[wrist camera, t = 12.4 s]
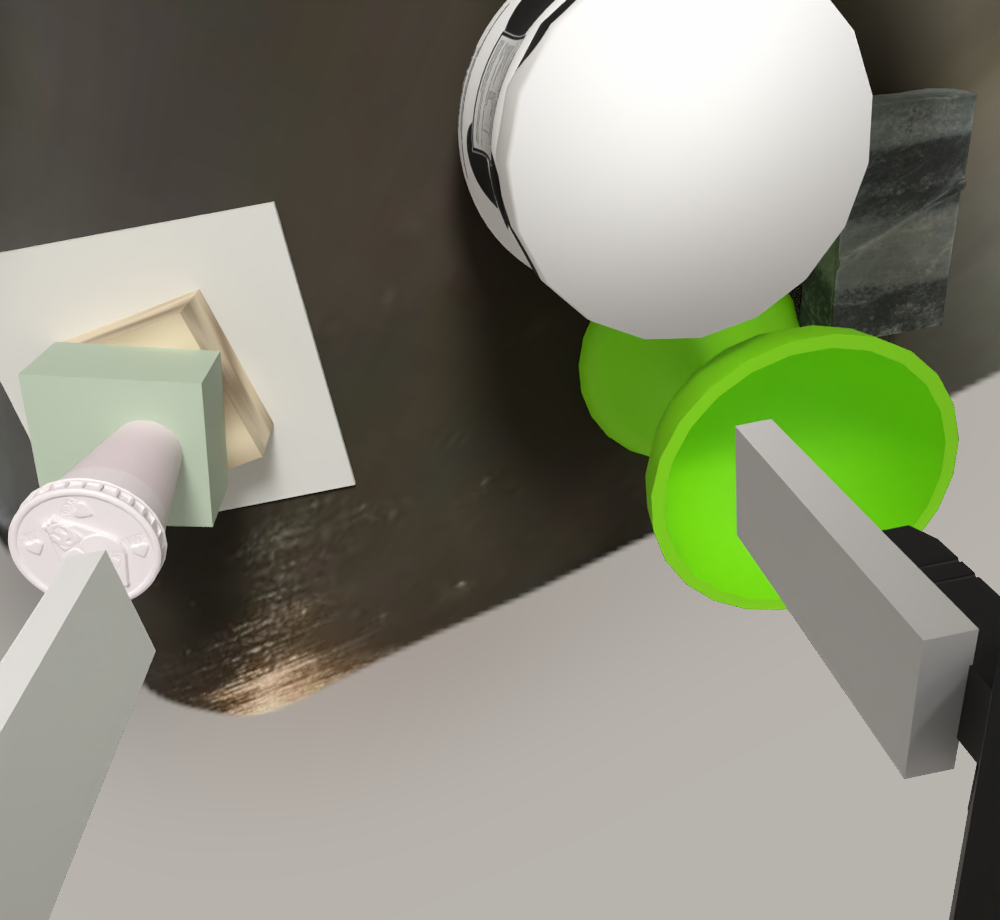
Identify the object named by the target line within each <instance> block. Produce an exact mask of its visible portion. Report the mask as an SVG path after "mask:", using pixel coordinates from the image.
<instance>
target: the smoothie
mask: <svg viewBox="0 0 1000 920" xmlns="http://www.w3.org/2000/svg"><path fill="white" fill-rule="evenodd" d="M181 462H182V447H181V444H180V442H179V440H178V439H177V437H176V436H175V435H174V434H173V433H172V432H171V431H170V430H169V429H167V428H166V427H164V426H163V425H161V424H158V423H156V422H152V421H146V420H138V421H132V422H129V423H126V424H124V425H123V426H121V427H120V428H119V429H118V430H116V431H115V432H114V433H113V434H112V435H111V436H109V437H108V438H107V439H106V440H105V441H104V442H102V443H101V444H100V445H99V446H98V447H97V448H95V449H94V450H93V451H92V452H91V453H89V454H88V455H87V456H86V457H85V458H84V459H82V460H81V461H80V462H79V463H78V464H77V465H75V466H74V467H73V468H72V469H71V470H70V471H68V472H67V473H66V474H65V475H64V476H62V477H61V478H60V479H59V480H57V481H54V482H50V483H47V484H45V485H44V486H42V487H40V488H38V489H37V490H35V491H33V492H32V493H31V494H30V495H29V496H28V497H27V498H26V499H25V500H24V502H23V503H22V504H21V506H20V508H19V510H18V512H17V513H16V514H15V516H14V518H13V520H12V522H11V524H10V528H9V533H8V544H9V549H10V553H11V556H12V558H13V560H14V563H15V564H16V566H17V568H18V569H19V570H20V572H21V573H22V574H23V575H24V576H25V577H26V579H27V580H28V581H30V582H31V583H32V584H33V585H34V586H36V587H37V588H38V589H40V590H42V591H43V592H44V593H45V592H46V591H47V589H48V588H49V586H50V585H51V583H52V581H53V580H54V578H55V577H56V575H57V574H58V572H59V571H60V569H61V567H62V566H63V564H64V563H65V561H66V560H67V558H68V557H70V556H75V555H80V554H85V553H90V552H95V551H101V550H106V551H107V553H108V555H109V557H110V559H111V561H112V563H113V565H114V567H115V569H116V571H117V573H118V575H119V577H120V579H121V581H122V583H123V585H124V587H125V589H126V591H127V593H128V596H129V598H130V600H131V599H133V598H135V597H137V596H138V595H140V594H141V593H143V592H144V591H145V590H146V589H147V588H148V587H149V586H150V585H151V584H152V583H153V581H154V580H155V578H156V576H157V574H158V573H159V571H160V569H161V567H162V565H163V563H164V561H165V559H166V551H167V540H166V535H165V530H166V525H167V521H168V516H169V512H170V508H171V504H172V500H173V495H174V491H175V487H176V483H177V478H178V474H179V470H180V466H181Z"/></svg>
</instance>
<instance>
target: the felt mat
mask: <svg viewBox="0 0 1000 920" xmlns="http://www.w3.org/2000/svg"><path fill="white" fill-rule="evenodd" d="M198 289H200V291H201V292H202V294H203V296H204V298H205V300H206V302H207V303H208V305H209V307H210V309H211V311H212V312H213V314H214V316H215V318H216V320H217V321H218V323H219V325H220V327H221V329H222V331H223V332H224V334H225V336H226V338H227V340H228V341H229V343H230V345H231V347H232V349H233V350H234V352H235V354H236V356H237V358H238V360H239V361H240V363H241V365H242V367H243V369H244V370H245V372H246V374H247V376H248V378H249V380H250V381H251V383H252V385H253V387H254V389H255V390H256V392H257V394H258V396H259V398H260V399H261V401H262V403H263V405H264V407H265V409H266V410H267V412H268V414H269V416H270V418H271V419H272V421H273V426H272V429H271V432H270V435H269V438H268V442H267V445H266V448H265V451H264V454H263V457H261V458H258V459H255V460H253V461H250V462H247V463H245V464H242V465H239V466H236V467H234V468H231V469H228V478H229V486H228V488H227V491H226V493H225V496H224V499H223V501H222V504H221V506H220V509H219V511H224V510H229V509H234V508H239V507H244V506H249V505H254V504H259V503H264V502H270V501H275V500H280V499H285V498H290V497H295V496H300V495H305V494H310V493H316V492H321V491H326V490H331V489H336V488H341V487H346V486H351V485H355V478H354V475H353V471H352V468H351V465H350V461H349V458H348V454H347V451H346V447H345V444H344V440H343V437H342V433H341V430H340V426H339V423H338V420H337V416H336V413H335V409H334V406H333V402H332V399H331V395H330V392H329V388H328V385H327V381H326V378H325V375H324V371H323V368H322V364H321V361H320V357H319V354H318V350H317V347H316V343H315V340H314V336H313V333H312V330H311V326H310V323H309V319H308V316H307V312H306V309H305V305H304V302H303V298H302V295H301V291H300V288H299V285H298V281H297V278H296V274H295V271H294V267H293V264H292V260H291V257H290V253H289V250H288V246H287V243H286V240H285V236H284V233H283V229H282V226H281V222H280V219H279V215H278V212H277V208H276V205H275V201H274V202H269V203H264V204H258V205H253V206H247V207H242V208H237V209H231V210H226V211H221V212H215V213H210V214H204V215H199V216H194V217H188V218H183V219H178V220H172V221H167V222H161V223H156V224H151V225H145V226H140V227H135V228H129V229H124V230H119V231H113V232H108V233H102V234H97V235H92V236H86V237H81V238H76V239H70V240H65V241H59V242H54V243H49V244H43V245H38V246H33V247H27V248H22V249H16V250H11V251H6V252H0V381H1V383H2V385H3V387H4V389H5V391H6V393H7V395H8V397H9V399H10V401H11V403H12V405H13V407H14V409H15V411H16V413H17V414H18V416H19V418H20V420H21V422H22V424H23V426H24V428H25V430H26V432H27V434H28V436H29V438H30V434H29V429H28V423H27V418H26V413H25V408H24V403H23V397H22V392H21V387H20V382H19V377H18V374H19V373H20V372H21V371H22V370H24V369H25V368H26V367H27V366H28V365H29V364H30V363H32V362H33V361H34V360H35V359H36V358H37V357H39V356H40V355H41V354H42V353H43V352H44V351H45V350H47V349H48V348H49V347H50V346H51V345H52V344H53V343H55V342H62V341H65V340H68V339H70V338H73V337H75V336H78V335H81V334H83V333H86V332H88V331H91V330H94V329H96V328H99V327H102V326H104V325H107V324H109V323H112V322H115V321H117V320H120V319H122V318H125V317H128V316H130V315H133V314H135V313H138V312H141V311H143V310H146V309H148V308H151V307H154V306H156V305H159V304H161V303H164V302H167V301H169V300H172V299H174V298H177V297H180V296H182V295H185V294H187V293H190V292H193V291H195V290H198ZM30 440H31V439H30Z"/></svg>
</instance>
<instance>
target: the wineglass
mask: <svg viewBox="0 0 1000 920" xmlns="http://www.w3.org/2000/svg"><path fill="white" fill-rule="evenodd" d="M579 375H580V384H581V393H582V395H583V398H584V400H585V402H586V405H587V407H588V410H589V412H590V414H591V417H592V418H593V419H594V420H595V421H596V423H597V424H598V425H599V426H600V427H601V429H602V430H603V431H604V432H605V434H606V435H607V436H608V437H610V438H611V439H613V440H615V441H616V442H618V443H619V444H621V445H622V446H624V447H625V448H627V449H628V450H630V451H633V452H636V453H639V454H643V455H646V456H649V461H648V465H647V470H646V474H645V480H646V496H647V509H648V512H649V516H650V520H651V523H652V527H653V531H654V533H655V536H656V538H657V540H658V543H659V545H660V548H661V550H662V553H663V555H664V558H665V560H666V561H667V562H668V564H669V565H670V566H671V567H672V568H673V570H674V571H675V572H676V573H677V574H678V575H679V576H680V578H681V579H682V580H683V581H684V582H685V583H686V584H687V585H689V586H691V587H692V588H694V589H695V590H697V591H699V592H700V593H702V594H704V595H705V596H707V597H709V598H710V599H712V600H714V601H718V602H722V603H726V604H729V605H733V606H736V607H740V608H744V609H772V610H773V609H775V610H782V609H786V608H787V607H786V606H785V604H784V603H783V601H782V600H781V598H780V597H779V596H778V594H777V593H776V591H775V590H774V588H773V587H772V585H771V584H770V582H769V581H768V580H767V578H766V577H765V575H764V574H763V572H762V571H761V569H760V568H759V566H758V565H757V564H756V562H755V561H754V559H753V558H752V556H751V555H750V553H749V552H748V550H747V549H746V547H745V546H744V545H743V543H742V542H741V540H740V539H739V537H738V536H737V517H736V447H735V426H738V425H743V424H748V423H753V422H758V421H763V420H768V419H772V420H773V421H774V422H775V423H776V424H777V425H778V426H779V427H780V428H781V429H782V430H783V431H784V432H785V433H786V434H787V436H788V437H789V438H790V439H791V440H792V441H793V442H794V443H795V444H796V445H797V446H798V447H799V448H800V449H801V450H802V451H803V452H804V453H805V454H806V455H807V456H808V457H809V458H810V459H811V460H812V461H813V462H814V463H815V464H816V465H817V466H818V467H819V468H820V469H821V470H822V471H823V472H824V473H825V474H826V475H827V476H828V477H829V478H830V479H831V480H832V481H833V482H834V483H835V484H836V485H837V486H838V487H839V488H840V489H841V490H842V491H843V492H844V493H845V494H846V495H847V496H848V497H849V498H850V499H851V500H852V501H853V502H854V503H855V504H856V505H857V506H858V507H859V508H860V509H861V510H862V511H863V512H864V513H865V514H866V515H867V516H868V517H869V518H870V519H871V520H872V521H873V522H874V523H875V524H876V525H877V526H878V527H879V529H880V530H881V531H882V530H887V529H892V528H897V527H902V526H907V525H910V526H912V527H914V528H916V529H918V530H920V531H923V529H924V528H925V526H926V525H927V524H928V522H929V521H930V520H931V518H932V517H933V515H934V514H935V512H936V511H937V510H938V508H939V506H940V504H941V501H942V499H943V497H944V494H945V492H946V490H947V488H948V485H949V483H950V481H951V478H952V476H953V473H954V466H955V460H956V453H957V447H958V441H959V436H958V429H957V423H956V416H955V410H954V404H953V402H952V400H951V398H950V396H949V394H948V393H947V391H946V389H945V387H944V385H943V383H942V381H941V379H940V378H939V376H938V374H937V373H936V372H934V371H933V370H932V369H931V368H930V367H929V366H928V365H926V364H925V363H924V362H923V361H922V360H921V359H920V358H919V357H917V356H916V355H915V354H914V353H913V352H912V351H909V350H907V349H904V348H902V347H899V346H897V345H894V344H892V343H889V342H887V341H884V340H882V339H879V338H877V337H874V336H871V335H868V334H866V333H863V332H860V331H857V330H854V329H851V328H840V327H827V326H815V325H811V326H805V327H799V323H798V319H797V315H796V310H795V306H794V302H793V299H792V298H791V296H790V294H789V293H787V294H786V295H785V296H784V297H782V298H781V299H780V300H778V301H777V302H776V303H774V304H773V305H772V306H771V307H769V308H768V309H767V310H765V311H764V312H763V313H761V314H760V315H759V316H757V317H756V318H753V319H750V320H748V321H745V322H742V323H740V324H737V325H734V326H732V327H729V328H726V329H723V330H721V331H718V332H715V333H713V334H710V335H707V336H705V337H702V338H675V339H643V338H640V337H637V336H634V335H631V334H628V333H625V332H622V331H619V330H616V329H613V328H610V327H607V326H604V325H601V324H598V323H595V322H593V321H590V323H589V326H588V328H587V330H586V332H585V335H584V337H583V342H582V348H581V354H580V360H579Z"/></svg>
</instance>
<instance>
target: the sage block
mask: <svg viewBox="0 0 1000 920" xmlns="http://www.w3.org/2000/svg"><path fill="white" fill-rule="evenodd" d="M18 377H19V382H20V387H21V392H22V397H23V403H24V408H25V413H26V418H27V423H28V429H29V434H30V439H31V444H32V450H33V455H34V460H35V465H36V470H37V476H38V481H39V486H40V487H42V486H44V485H45V484H47V483H50V482H54V481H57V480H59V479H60V478H61V477H62V476H64V475H65V474H66V473H67V472H68V471H70V470H71V469H72V468H73V467H74V466H75V465H77V464H78V463H79V462H80V461H81V460H82V459H84V458H85V457H86V456H87V455H88V454H89V453H91V452H92V451H93V450H94V449H95V448H97V447H98V446H99V445H100V444H101V443H102V442H104V441H105V440H106V439H107V438H108V437H109V436H111V435H112V434H113V433H114V432H115V431H116V430H118V429H119V428H120V427H121V426H123V425H124V424H126V423H129V422H132V421H138V420H146V421H152V422H156V423H158V424H161V425H163V426H164V427H166V428H167V429H169V430H170V431H171V432H172V433H173V434H174V435H175V436H176V437H177V439H178V440H179V442H180V444H181V447H182V462H181V466H180V470H179V474H178V478H177V483H176V487H175V491H174V495H173V500H172V504H171V508H170V512H169V516H168V521H167V525H166V526H193V527H213V525H214V522H215V519H216V517H217V514H218V512H219V509H220V506H221V504H222V501H223V499H224V496H225V493H226V491H227V488H228V486H229V478H228V462H227V447H226V431H225V416H224V400H223V385H222V369H221V354H220V351H213V350H195V349H177V348H159V347H142V346H124V345H106V344H88V343H70V342H55V343H53V344H52V345H51V346H50V347H49V348H48V349H47V350H45V351H44V352H43V353H42V354H41V355H40V356H39V357H37V358H36V359H35V360H34V361H33V362H32V363H30V364H29V365H28V366H27V367H26V368H25V369H24V370H22V371H21V372H20V373H19V374H18Z"/></svg>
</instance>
